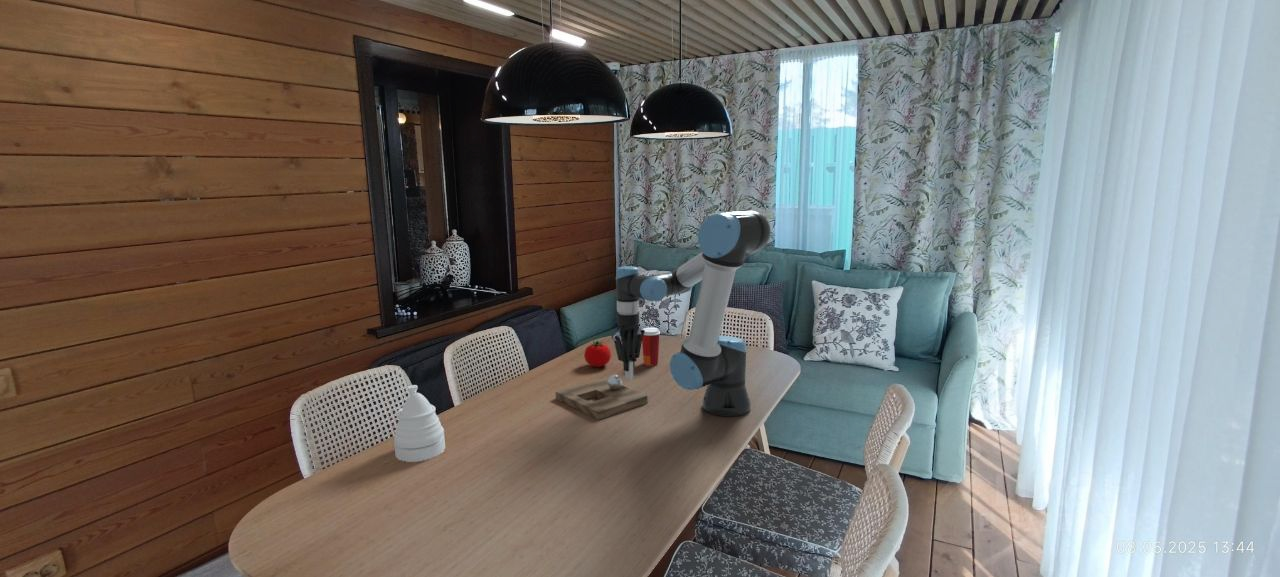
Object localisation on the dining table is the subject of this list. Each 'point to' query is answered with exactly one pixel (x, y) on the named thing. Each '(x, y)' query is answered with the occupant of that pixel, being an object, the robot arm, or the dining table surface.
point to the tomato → (597, 354)
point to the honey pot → (418, 430)
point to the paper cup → (650, 346)
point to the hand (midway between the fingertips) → (629, 379)
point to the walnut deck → (601, 398)
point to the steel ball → (614, 382)
